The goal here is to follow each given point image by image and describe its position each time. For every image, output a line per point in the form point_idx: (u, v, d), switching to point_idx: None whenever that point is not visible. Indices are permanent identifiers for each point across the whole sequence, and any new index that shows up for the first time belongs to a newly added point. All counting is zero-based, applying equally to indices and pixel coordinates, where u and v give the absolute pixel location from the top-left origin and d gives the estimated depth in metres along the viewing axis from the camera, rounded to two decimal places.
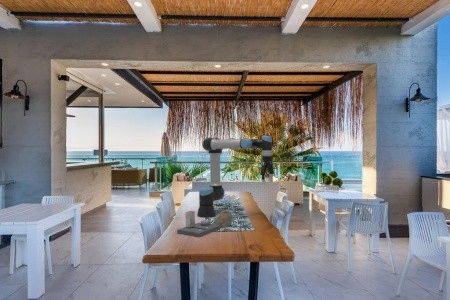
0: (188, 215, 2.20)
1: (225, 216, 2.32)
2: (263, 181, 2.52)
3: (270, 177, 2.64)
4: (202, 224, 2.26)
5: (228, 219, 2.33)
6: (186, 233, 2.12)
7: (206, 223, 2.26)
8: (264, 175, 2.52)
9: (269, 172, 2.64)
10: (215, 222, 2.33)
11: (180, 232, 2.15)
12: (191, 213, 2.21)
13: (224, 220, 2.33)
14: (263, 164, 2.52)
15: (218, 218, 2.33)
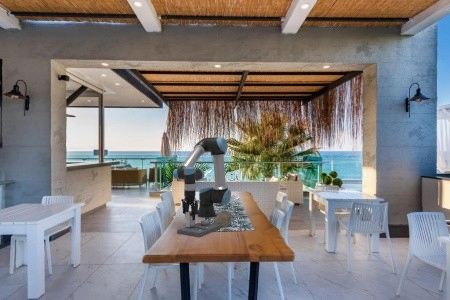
0: (188, 215, 2.20)
1: (224, 216, 2.33)
2: None
3: None
4: (202, 224, 2.26)
5: (227, 219, 2.33)
6: (186, 233, 2.12)
7: (206, 223, 2.26)
8: None
9: None
10: (214, 222, 2.33)
11: (180, 232, 2.15)
12: (191, 213, 2.21)
13: (223, 220, 2.33)
14: None
15: (217, 218, 2.33)
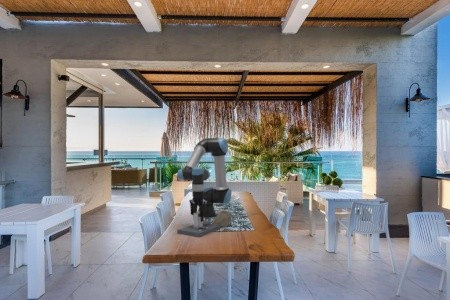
0: (196, 216, 2.16)
1: (224, 216, 2.33)
2: None
3: None
4: None
5: (227, 219, 2.33)
6: (186, 233, 2.12)
7: (206, 223, 2.26)
8: None
9: None
10: (214, 222, 2.33)
11: (180, 232, 2.15)
12: (199, 214, 2.17)
13: (223, 220, 2.33)
14: None
15: (217, 218, 2.33)
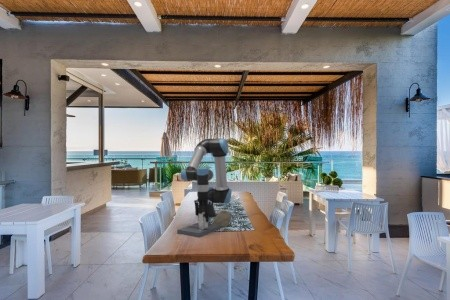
0: (201, 217, 2.14)
1: (224, 216, 2.33)
2: None
3: None
4: None
5: (227, 219, 2.33)
6: (186, 233, 2.12)
7: None
8: None
9: None
10: (214, 222, 2.33)
11: (180, 232, 2.15)
12: (204, 215, 2.15)
13: (223, 220, 2.33)
14: None
15: (217, 218, 2.34)
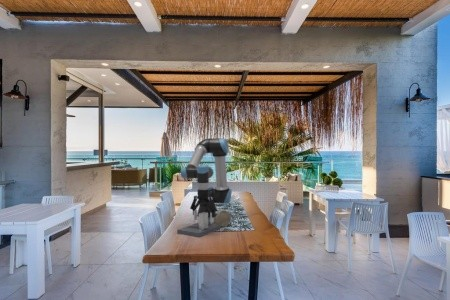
0: (201, 217, 2.14)
1: (224, 216, 2.33)
2: None
3: None
4: None
5: (227, 219, 2.34)
6: (186, 233, 2.12)
7: None
8: (193, 210, 2.20)
9: None
10: (214, 222, 2.33)
11: (180, 232, 2.15)
12: (204, 215, 2.15)
13: (223, 220, 2.33)
14: None
15: (217, 218, 2.34)
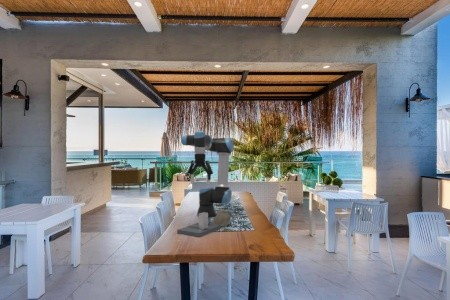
0: (201, 217, 2.14)
1: (224, 216, 2.33)
2: None
3: None
4: None
5: (227, 219, 2.34)
6: (186, 233, 2.12)
7: None
8: (191, 174, 2.32)
9: None
10: (214, 222, 2.33)
11: (180, 232, 2.15)
12: (204, 215, 2.15)
13: (223, 220, 2.33)
14: None
15: (217, 218, 2.34)
